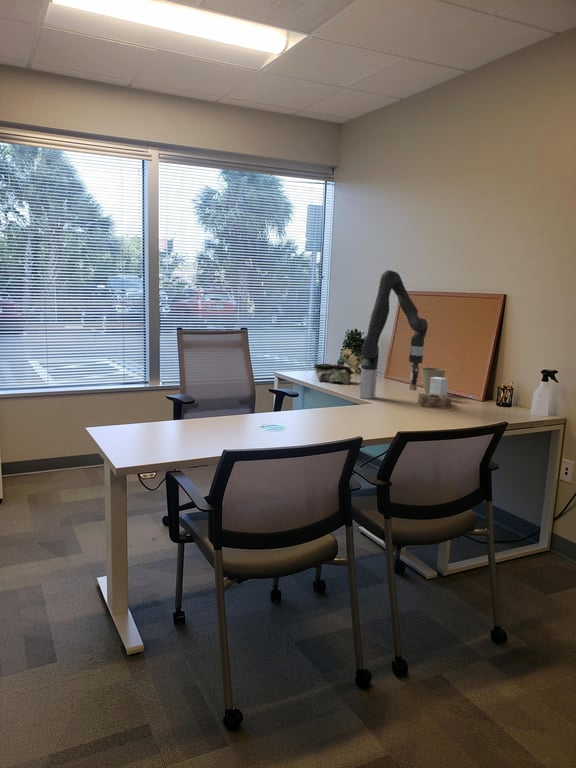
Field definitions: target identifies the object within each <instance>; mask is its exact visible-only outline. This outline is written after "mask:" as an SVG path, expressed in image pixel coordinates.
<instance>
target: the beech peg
mask: <svg viewBox="0 0 576 768" xmlns="http://www.w3.org/2000/svg"><path fill="white" fill-rule="evenodd" d="M414 375H415V376H416V374H414ZM412 377H413V374H412V372H411V371H410V377H409V391H417V389H418V379H419V377H418V378H417V380H416V385H412V379H413V378H412Z"/></svg>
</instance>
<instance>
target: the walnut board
mask: <svg viewBox="0 0 576 768" xmlns="http://www.w3.org/2000/svg"><path fill="white" fill-rule="evenodd" d="M417 403H418V404H419V405H420V407H421V408H435V409H451V408H452V398H451V397H449V395H448V394H447V395H441V394H426V393H418V401H417Z"/></svg>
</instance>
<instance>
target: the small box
mask: <svg viewBox="0 0 576 768" xmlns="http://www.w3.org/2000/svg"><path fill="white" fill-rule="evenodd" d="M447 390H448V378H446V377H444V378H441V377H431V379H430V392H429V394H441V395H447V396H448V394H447V393H448V391H447Z"/></svg>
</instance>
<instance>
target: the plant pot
mask: <svg viewBox="0 0 576 768" xmlns="http://www.w3.org/2000/svg"><path fill="white" fill-rule="evenodd" d="M420 373H421V374H420V375H421V381H422V386H423V389H424V394H429V392H430V379H431V377H441V378H445V373H446V369H445V368H440V367H430V366H429V367H421V368H420Z"/></svg>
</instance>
